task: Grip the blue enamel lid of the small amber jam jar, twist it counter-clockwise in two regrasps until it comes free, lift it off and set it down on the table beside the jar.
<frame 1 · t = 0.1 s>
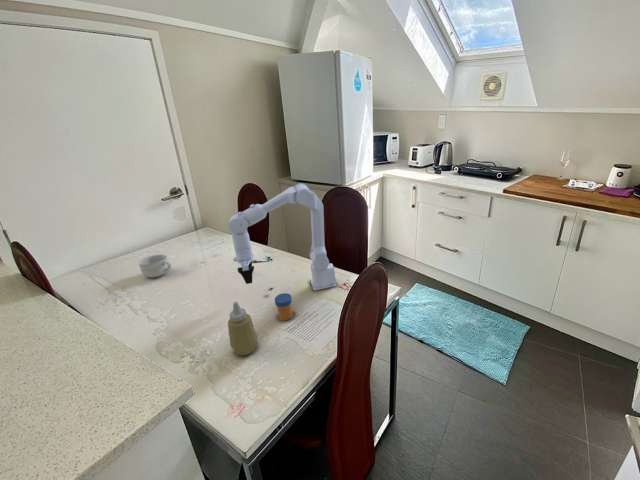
hand: (249, 278, 121), 10 cm above the table, tool pointing down, fingers open, 7 cm apart
teacup: (160, 275, 143), on the table
squeeze bottle: (246, 349, 100), on the table
lid: (283, 298, 112), point 8 cm above the table, screwed on, not yet turned
jar: (285, 316, 115), on the table
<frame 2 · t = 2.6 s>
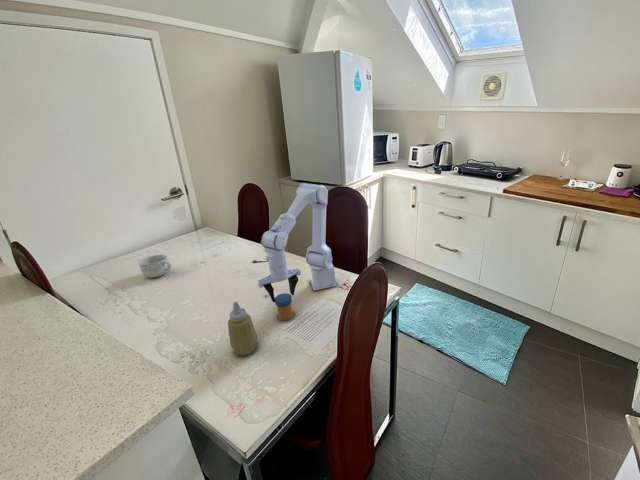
hand: (282, 297, 111), 8 cm above the table, tool pointing down, fingers open, 6 cm apart
nothing on the table moved.
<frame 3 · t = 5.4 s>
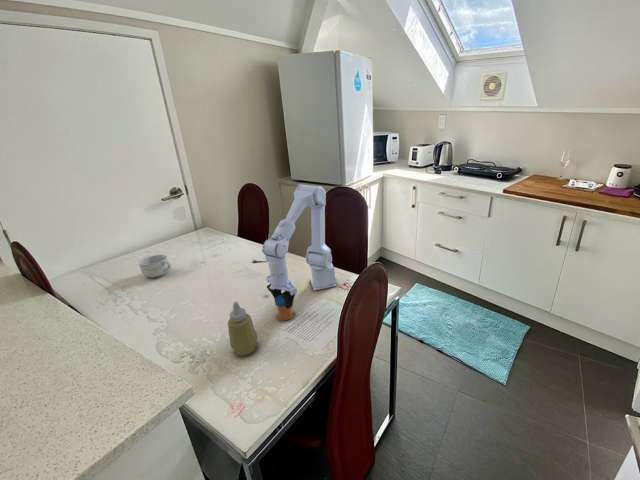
hand: (283, 304, 113), 5 cm above the table, tool pointing down, fingers closed on lid, 6 cm apart
lid: (283, 298, 112), point 8 cm above the table, screwed on, not yet turned, touching gripper
everything else where it was.
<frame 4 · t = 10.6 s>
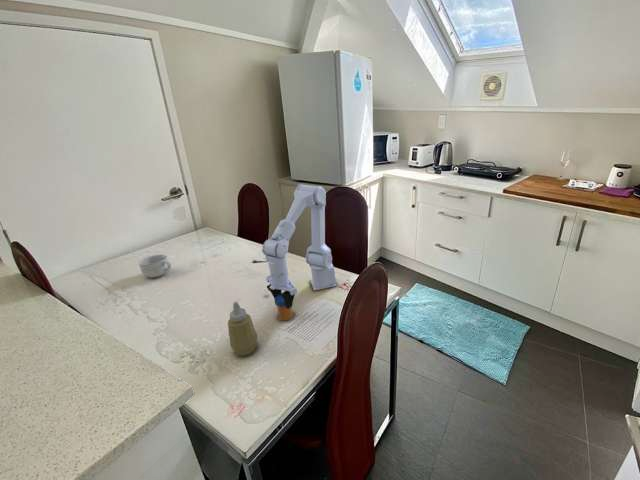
hand: (284, 304, 113), 5 cm above the table, tool pointing down, fingers closed on lid, 6 cm apart
lid: (283, 298, 112), point 8 cm above the table, turned 76° so far, risen 0.2 cm, still on its thread, touching gripper
everything else where it was.
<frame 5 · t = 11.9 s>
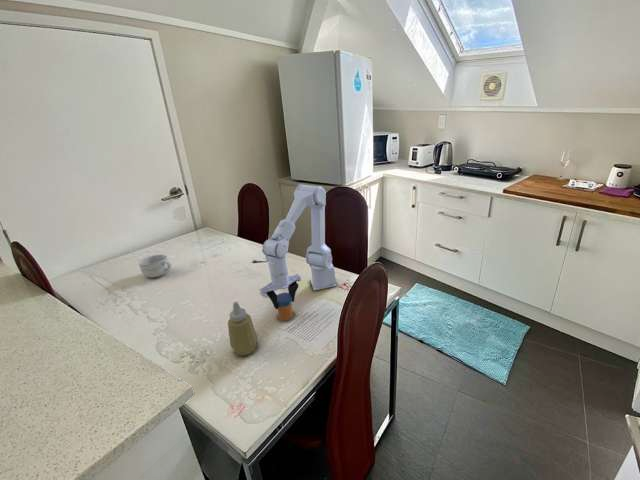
hand: (284, 304, 113), 5 cm above the table, tool pointing down, fingers closed on lid, 6 cm apart
lid: (283, 298, 112), point 8 cm above the table, off its thread, touching gripper
everything else where it was.
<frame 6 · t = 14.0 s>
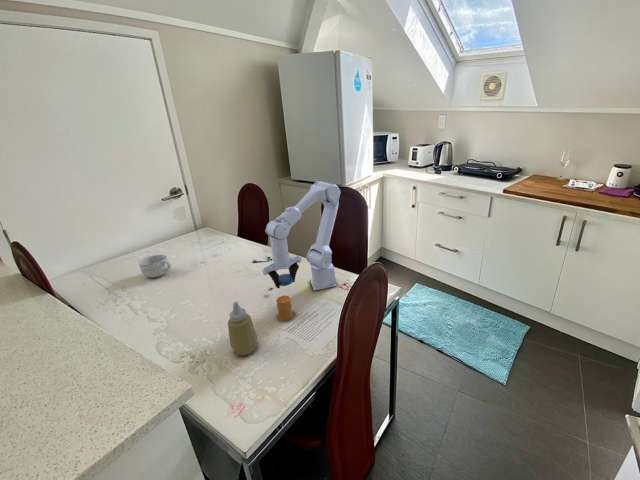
hand: (285, 284, 119), 9 cm above the table, tool pointing down, fingers closed on lid, 6 cm apart
lid: (284, 278, 118), point 11 cm above the table, off its thread, touching gripper
everything else where it was.
when the fingers open (0 cm above the table, at t = 17.5 s): lid stays where it is, point 1 cm above the table.
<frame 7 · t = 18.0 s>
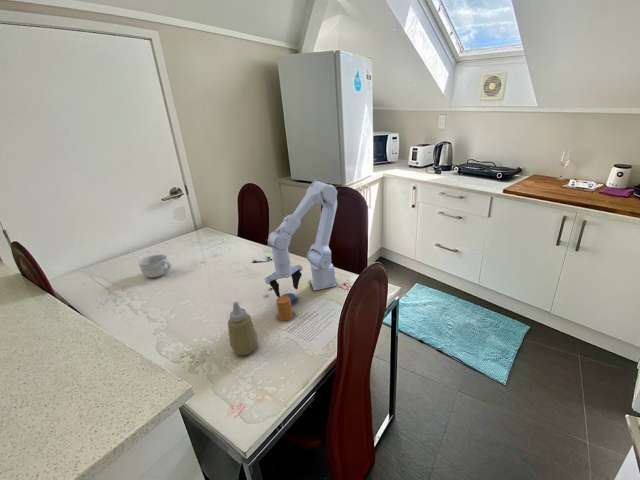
hand: (287, 292, 123), 4 cm above the table, tool pointing down, fingers open, 7 cm apart
lid: (287, 298, 122), point 1 cm above the table, off its thread
everything else where it was.
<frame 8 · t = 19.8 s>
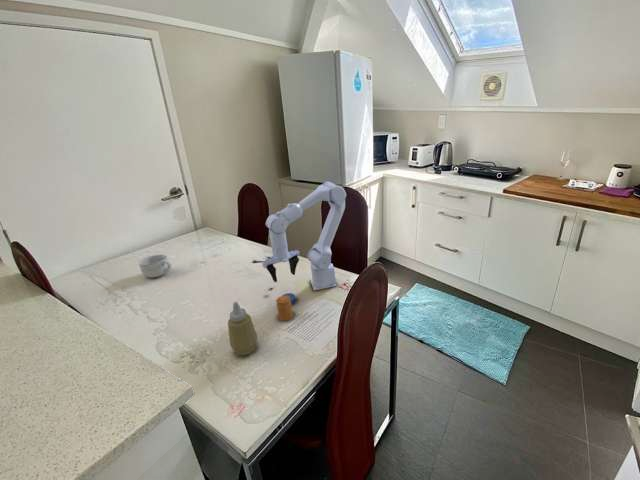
hand: (284, 277, 122), 9 cm above the table, tool pointing down, fingers open, 7 cm apart
nothing on the table moved.
at the end: lid came off its thread; lid point 1.5 cm above the table; the gripper is holding nothing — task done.
